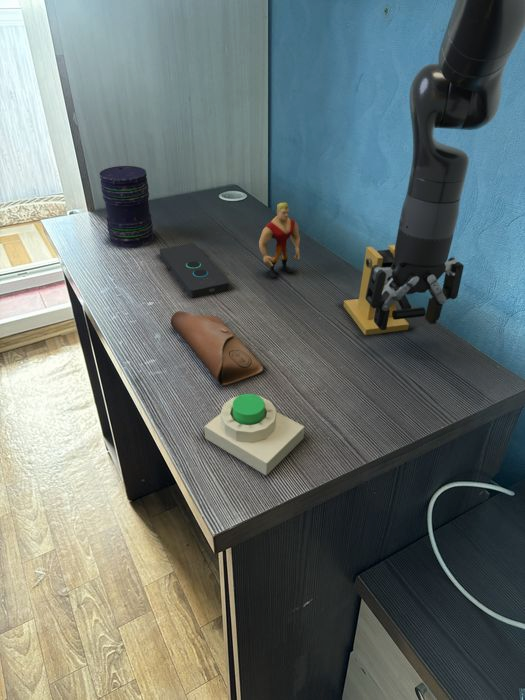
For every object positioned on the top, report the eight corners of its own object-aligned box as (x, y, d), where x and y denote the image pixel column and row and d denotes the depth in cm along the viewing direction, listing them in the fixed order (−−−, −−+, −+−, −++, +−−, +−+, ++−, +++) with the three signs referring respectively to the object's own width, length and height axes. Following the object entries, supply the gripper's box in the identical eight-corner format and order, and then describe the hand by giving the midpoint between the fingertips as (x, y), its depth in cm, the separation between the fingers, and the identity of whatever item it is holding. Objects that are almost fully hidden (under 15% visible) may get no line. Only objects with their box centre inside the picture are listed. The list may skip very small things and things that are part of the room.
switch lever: (422, 319, 81) (428, 310, 79) (393, 323, 80) (398, 314, 78) (392, 258, 88) (397, 248, 86) (365, 261, 87) (369, 251, 85)
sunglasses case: (268, 368, 78) (249, 343, 74) (233, 399, 78) (212, 376, 73) (214, 314, 91) (195, 290, 86) (184, 340, 90) (163, 317, 86)
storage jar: (158, 244, 116) (151, 177, 107) (113, 250, 112) (102, 181, 104) (148, 228, 123) (141, 164, 114) (106, 233, 120) (95, 168, 111)
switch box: (303, 438, 67) (305, 415, 65) (266, 476, 62) (267, 452, 60) (244, 406, 72) (244, 384, 70) (204, 438, 67) (203, 415, 65)
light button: (270, 412, 66) (271, 402, 65) (251, 430, 63) (251, 419, 62) (246, 399, 68) (246, 389, 67) (226, 415, 65) (226, 405, 64)
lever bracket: (408, 329, 89) (423, 262, 82) (365, 335, 87) (376, 266, 80) (383, 301, 97) (394, 237, 90) (343, 306, 95) (351, 240, 88)
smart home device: (189, 290, 95) (157, 248, 110) (190, 298, 96) (158, 256, 111) (231, 281, 98) (194, 242, 113) (231, 289, 99) (195, 249, 114)
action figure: (265, 282, 102) (267, 208, 93) (255, 275, 105) (257, 202, 96) (304, 271, 106) (309, 200, 98) (294, 264, 109) (298, 194, 100)
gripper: (391, 241, 68) (374, 343, 77) (487, 232, 71) (458, 331, 80) (368, 220, 74) (354, 317, 83) (457, 213, 77) (434, 307, 86)
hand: (405, 324), depth 82 cm, fingers open, 8 cm apart
